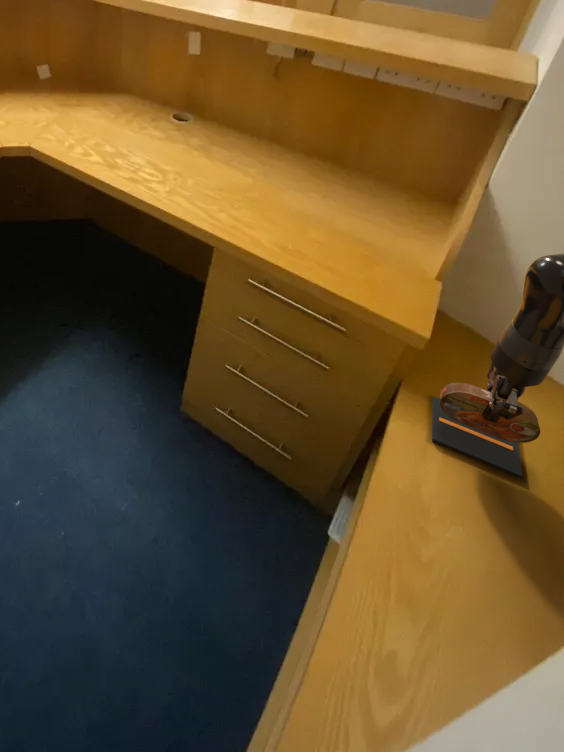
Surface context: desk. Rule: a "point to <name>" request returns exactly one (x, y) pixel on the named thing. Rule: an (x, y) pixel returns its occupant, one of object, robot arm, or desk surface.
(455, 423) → the mat
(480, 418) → the tin
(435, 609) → the desk surface
